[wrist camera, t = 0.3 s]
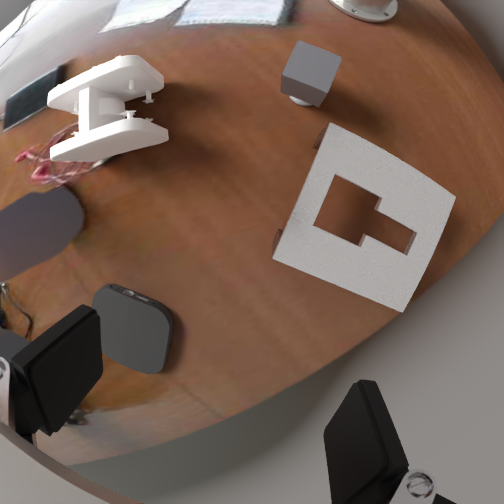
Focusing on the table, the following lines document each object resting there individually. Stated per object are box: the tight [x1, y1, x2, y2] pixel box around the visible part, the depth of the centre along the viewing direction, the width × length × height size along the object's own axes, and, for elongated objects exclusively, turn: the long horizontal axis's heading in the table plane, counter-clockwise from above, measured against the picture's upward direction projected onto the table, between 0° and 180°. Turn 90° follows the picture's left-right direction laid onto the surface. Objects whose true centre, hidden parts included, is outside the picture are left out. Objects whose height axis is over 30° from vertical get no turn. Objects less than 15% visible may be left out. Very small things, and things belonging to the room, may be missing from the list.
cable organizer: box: [47, 55, 169, 162], centre depth 29 cm, size 15×11×12 cm
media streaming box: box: [92, 284, 173, 374], centre depth 42 cm, size 15×15×3 cm
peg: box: [281, 40, 342, 107], centre depth 28 cm, size 5×5×10 cm
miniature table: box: [272, 122, 456, 312], centre depth 32 cm, size 16×18×8 cm
